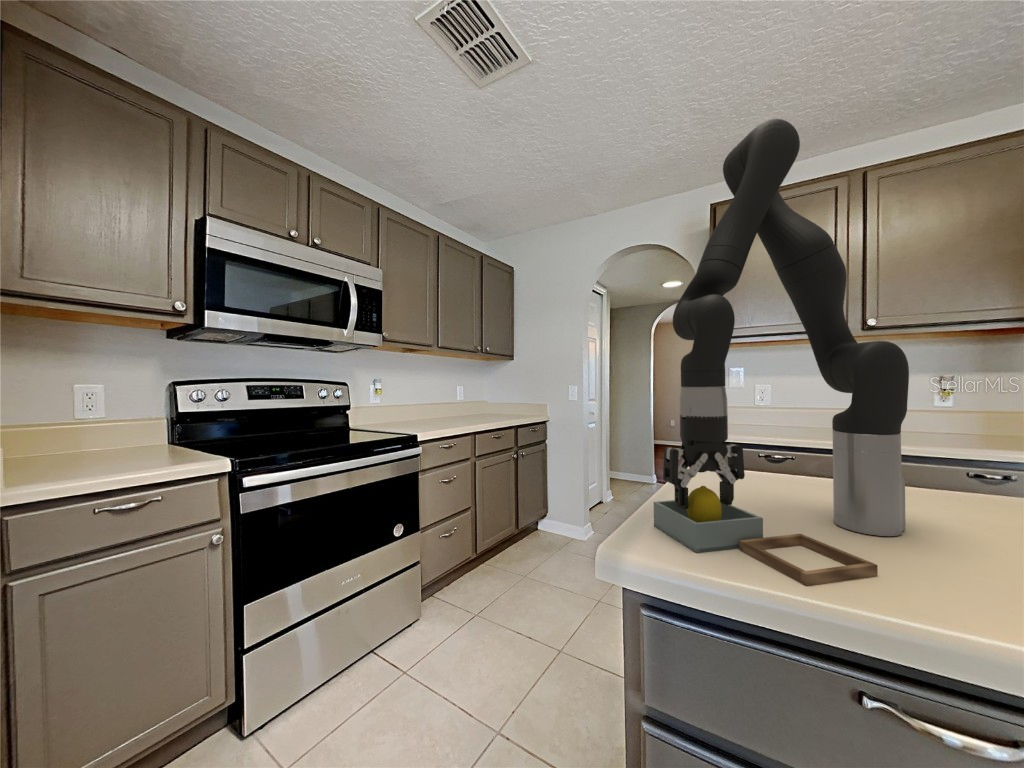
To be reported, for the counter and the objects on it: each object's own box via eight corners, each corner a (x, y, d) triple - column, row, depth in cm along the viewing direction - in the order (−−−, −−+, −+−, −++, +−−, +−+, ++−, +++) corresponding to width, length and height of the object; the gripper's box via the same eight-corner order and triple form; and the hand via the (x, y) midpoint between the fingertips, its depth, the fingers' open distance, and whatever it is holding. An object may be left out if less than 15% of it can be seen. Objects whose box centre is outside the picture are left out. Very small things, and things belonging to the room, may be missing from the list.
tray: (800, 542, 66) (800, 533, 66) (877, 575, 55) (877, 564, 55) (739, 549, 64) (739, 540, 64) (806, 585, 52) (806, 574, 52)
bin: (711, 520, 77) (711, 496, 77) (763, 545, 65) (762, 517, 65) (653, 525, 75) (653, 501, 75) (696, 553, 63) (696, 524, 63)
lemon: (726, 538, 67) (725, 490, 67) (691, 536, 68) (690, 489, 68) (716, 526, 72) (715, 482, 72) (684, 525, 73) (682, 481, 73)
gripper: (723, 410, 75) (724, 496, 75) (654, 412, 72) (655, 502, 72) (755, 413, 68) (756, 509, 68) (679, 416, 65) (681, 516, 65)
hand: (704, 505), depth 70 cm, fingers open, 8 cm apart
